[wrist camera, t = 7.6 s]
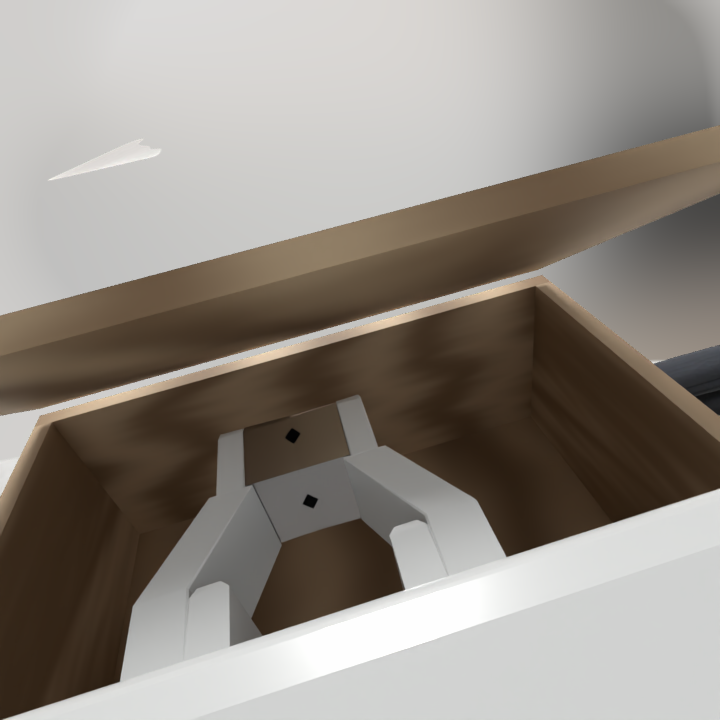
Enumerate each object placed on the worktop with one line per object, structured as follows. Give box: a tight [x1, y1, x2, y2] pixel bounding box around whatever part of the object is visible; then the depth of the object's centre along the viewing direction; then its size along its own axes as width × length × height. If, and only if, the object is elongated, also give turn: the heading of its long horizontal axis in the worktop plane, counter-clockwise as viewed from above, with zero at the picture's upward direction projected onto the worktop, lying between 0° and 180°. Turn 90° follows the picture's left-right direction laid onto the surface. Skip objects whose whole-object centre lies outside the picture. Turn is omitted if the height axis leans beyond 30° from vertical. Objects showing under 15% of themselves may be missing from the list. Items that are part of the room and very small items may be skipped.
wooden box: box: [0, 275, 720, 720], centre depth 20 cm, size 26×18×10 cm
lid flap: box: [0, 125, 720, 416], centre depth 16 cm, size 25×16×1 cm
